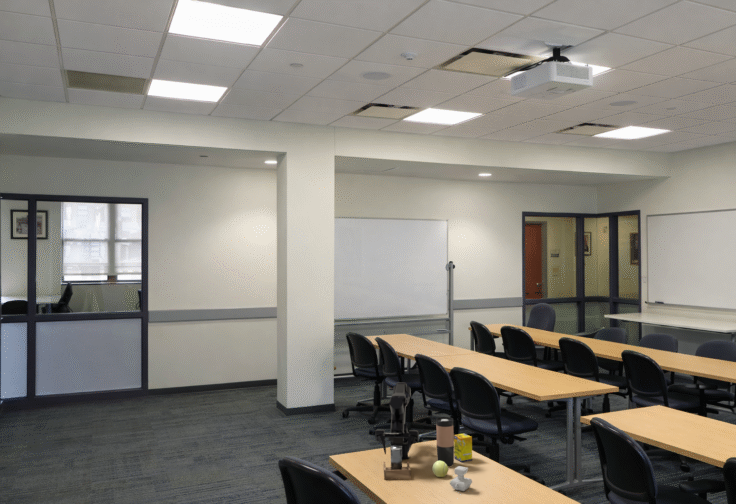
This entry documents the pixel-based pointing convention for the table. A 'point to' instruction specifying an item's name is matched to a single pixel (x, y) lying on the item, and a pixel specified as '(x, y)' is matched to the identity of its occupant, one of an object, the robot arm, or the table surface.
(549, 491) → the table surface
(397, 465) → the canister
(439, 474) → the tennis ball
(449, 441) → the travel mug
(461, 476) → the stamp
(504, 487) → the table surface
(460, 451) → the supplement box
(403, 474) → the holder
